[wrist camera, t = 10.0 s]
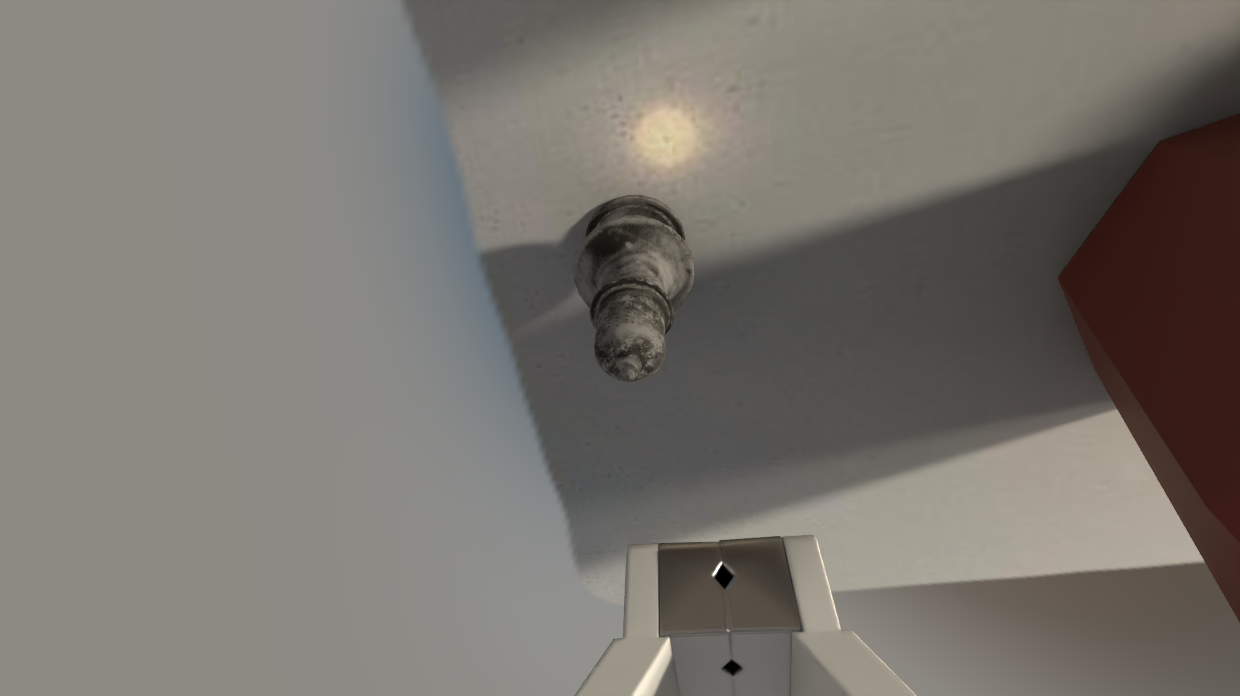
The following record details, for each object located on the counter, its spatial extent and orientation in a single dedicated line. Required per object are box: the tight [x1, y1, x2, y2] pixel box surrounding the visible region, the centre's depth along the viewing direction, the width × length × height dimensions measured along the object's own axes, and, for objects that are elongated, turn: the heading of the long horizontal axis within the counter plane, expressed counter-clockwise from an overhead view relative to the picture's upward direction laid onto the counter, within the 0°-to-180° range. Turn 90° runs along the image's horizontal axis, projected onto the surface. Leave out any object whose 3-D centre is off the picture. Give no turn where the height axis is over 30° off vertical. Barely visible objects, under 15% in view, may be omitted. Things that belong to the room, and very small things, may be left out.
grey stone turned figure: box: [573, 195, 694, 382], centre depth 29 cm, size 6×6×12 cm
